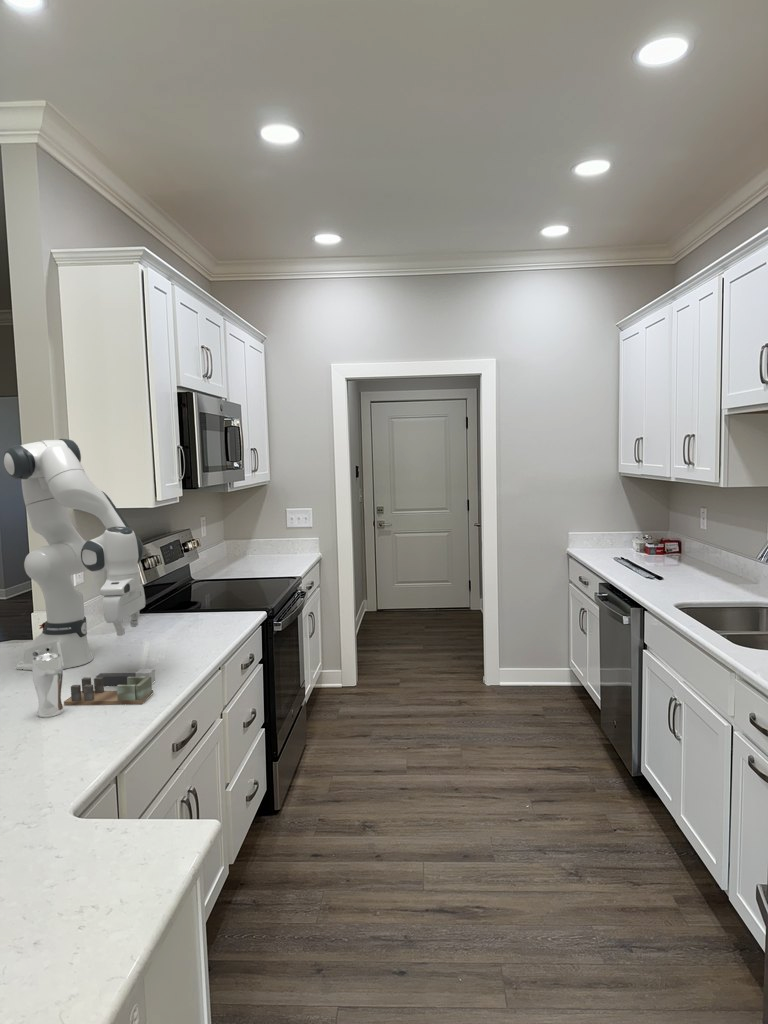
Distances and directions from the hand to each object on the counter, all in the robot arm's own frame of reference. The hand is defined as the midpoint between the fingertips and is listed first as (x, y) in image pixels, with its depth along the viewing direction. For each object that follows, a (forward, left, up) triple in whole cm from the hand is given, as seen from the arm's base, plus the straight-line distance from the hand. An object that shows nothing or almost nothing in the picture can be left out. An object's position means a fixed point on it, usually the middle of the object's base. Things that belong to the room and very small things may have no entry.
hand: (127, 630), depth 196 cm
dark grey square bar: (-3, 0, -16) cm, 16 cm away
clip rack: (-2, -12, -16) cm, 20 cm away
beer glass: (-13, -21, -16) cm, 29 cm away
